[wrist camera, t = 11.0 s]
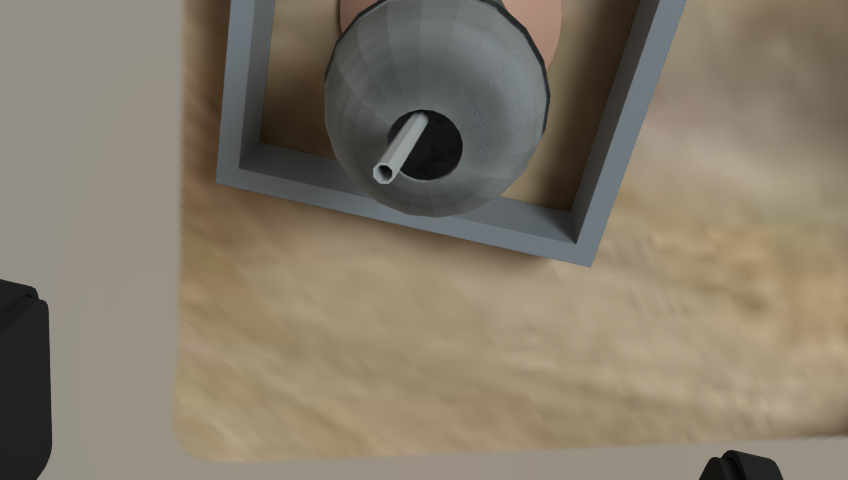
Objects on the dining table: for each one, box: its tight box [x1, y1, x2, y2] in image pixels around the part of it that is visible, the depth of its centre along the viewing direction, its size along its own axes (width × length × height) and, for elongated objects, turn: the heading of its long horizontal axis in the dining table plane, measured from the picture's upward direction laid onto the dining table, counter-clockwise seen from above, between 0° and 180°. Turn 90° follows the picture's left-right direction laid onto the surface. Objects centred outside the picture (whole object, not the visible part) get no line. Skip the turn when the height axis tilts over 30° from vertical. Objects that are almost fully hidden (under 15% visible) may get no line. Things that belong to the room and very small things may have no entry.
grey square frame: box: [216, 0, 687, 268], centre depth 34 cm, size 18×18×4 cm
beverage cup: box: [325, 0, 551, 218], centre depth 26 cm, size 7×7×20 cm
